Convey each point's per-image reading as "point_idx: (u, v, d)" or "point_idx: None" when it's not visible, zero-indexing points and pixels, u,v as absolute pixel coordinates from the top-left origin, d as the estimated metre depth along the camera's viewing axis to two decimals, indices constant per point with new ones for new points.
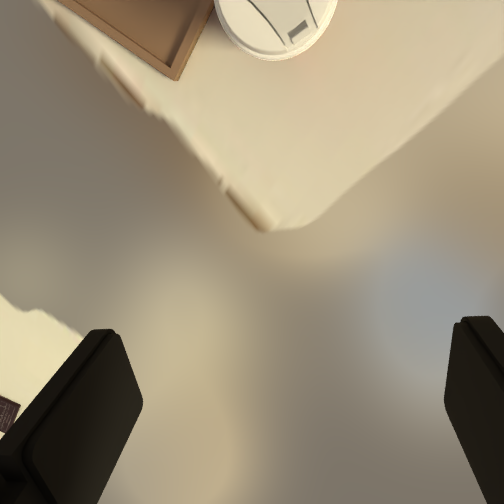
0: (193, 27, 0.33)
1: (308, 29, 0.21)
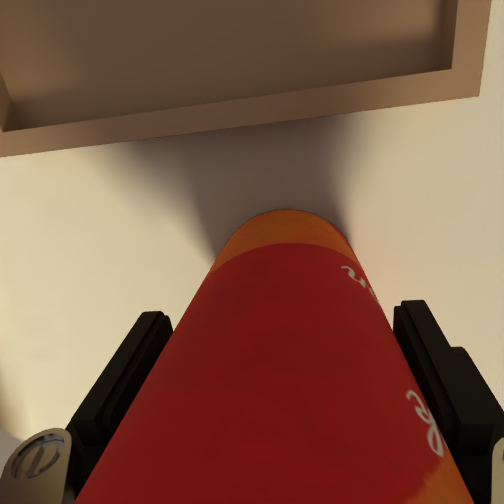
0: (117, 127, 0.12)
1: None
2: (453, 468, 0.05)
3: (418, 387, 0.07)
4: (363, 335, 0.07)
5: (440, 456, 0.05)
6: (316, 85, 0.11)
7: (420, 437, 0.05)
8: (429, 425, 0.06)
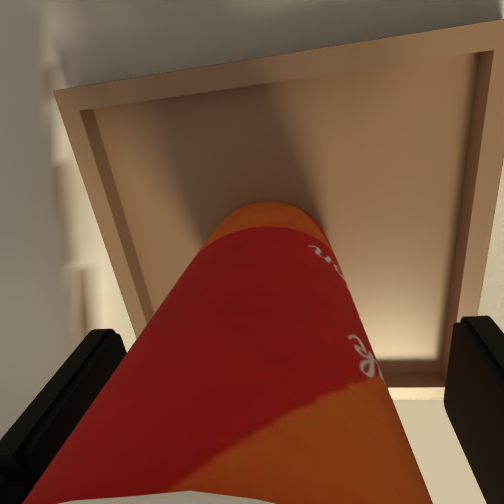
0: None
1: None
2: (380, 388, 0.07)
3: (365, 337, 0.08)
4: (317, 293, 0.08)
5: (368, 376, 0.07)
6: None
7: (352, 362, 0.07)
8: (364, 358, 0.07)
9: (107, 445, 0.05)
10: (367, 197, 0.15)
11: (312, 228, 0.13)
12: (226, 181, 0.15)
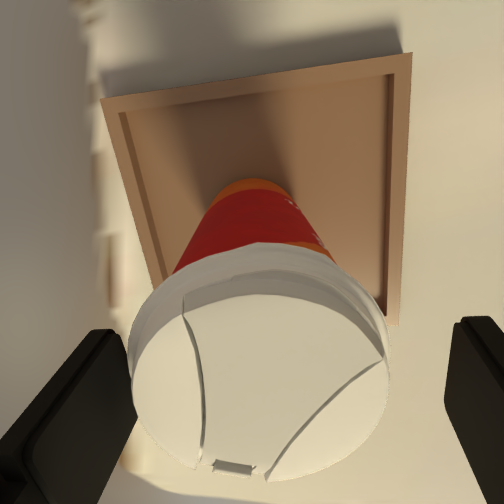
0: None
1: (249, 475, 0.11)
2: (330, 255, 0.13)
3: (322, 242, 0.14)
4: (293, 216, 0.14)
5: (323, 247, 0.12)
6: None
7: (314, 239, 0.12)
8: (321, 243, 0.13)
9: (206, 257, 0.10)
10: (322, 173, 0.21)
11: (285, 193, 0.19)
12: (221, 163, 0.21)
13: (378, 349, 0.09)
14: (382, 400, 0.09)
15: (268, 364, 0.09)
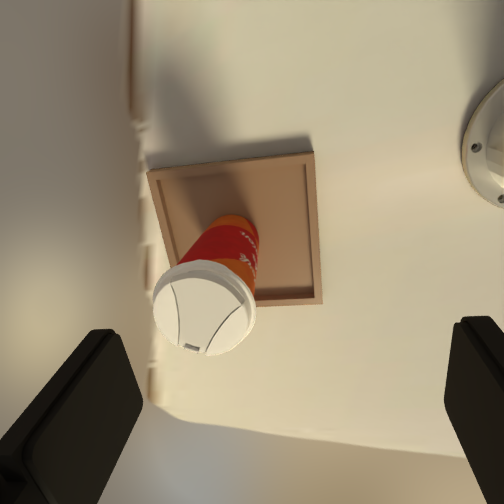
0: None
1: None
2: (245, 264, 0.28)
3: (249, 257, 0.29)
4: (235, 243, 0.29)
5: (241, 260, 0.27)
6: (281, 294, 0.40)
7: (237, 257, 0.27)
8: (243, 258, 0.28)
9: (184, 262, 0.26)
10: (272, 213, 0.35)
11: (246, 226, 0.34)
12: (214, 206, 0.36)
13: (240, 301, 0.24)
14: (245, 322, 0.24)
15: (201, 304, 0.24)
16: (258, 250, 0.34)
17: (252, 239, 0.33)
